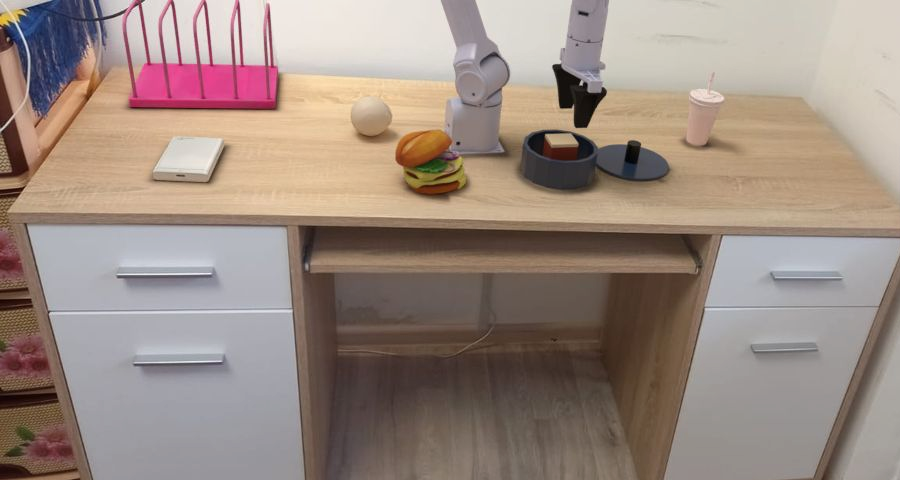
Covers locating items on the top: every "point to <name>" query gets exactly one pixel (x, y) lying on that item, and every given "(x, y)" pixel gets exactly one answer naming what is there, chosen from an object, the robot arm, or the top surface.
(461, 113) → the robot arm
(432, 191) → the cheeseburger
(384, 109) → the cream ball
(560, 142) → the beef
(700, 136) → the smoothie
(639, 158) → the pot lid
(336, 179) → the top surface
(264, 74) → the file sorter
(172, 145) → the hard drive
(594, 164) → the pot
